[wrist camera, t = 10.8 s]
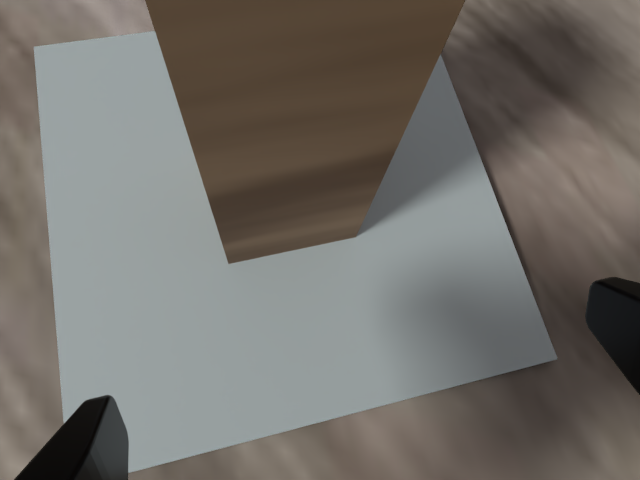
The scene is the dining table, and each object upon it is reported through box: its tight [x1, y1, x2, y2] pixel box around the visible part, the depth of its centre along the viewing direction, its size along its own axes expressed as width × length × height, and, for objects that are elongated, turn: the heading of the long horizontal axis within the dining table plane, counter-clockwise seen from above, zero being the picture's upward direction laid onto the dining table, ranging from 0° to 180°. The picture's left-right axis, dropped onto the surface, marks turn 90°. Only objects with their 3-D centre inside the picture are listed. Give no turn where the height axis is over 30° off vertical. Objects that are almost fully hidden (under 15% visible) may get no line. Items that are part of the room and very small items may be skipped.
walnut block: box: [145, 0, 465, 264], centre depth 12 cm, size 5×5×12 cm
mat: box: [34, 31, 558, 473], centre depth 18 cm, size 16×16×1 cm
